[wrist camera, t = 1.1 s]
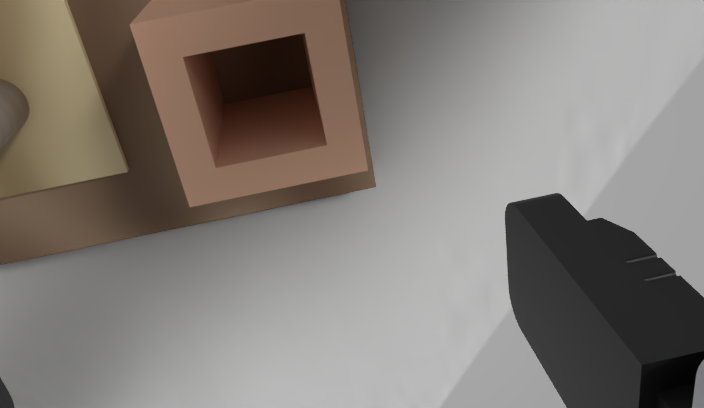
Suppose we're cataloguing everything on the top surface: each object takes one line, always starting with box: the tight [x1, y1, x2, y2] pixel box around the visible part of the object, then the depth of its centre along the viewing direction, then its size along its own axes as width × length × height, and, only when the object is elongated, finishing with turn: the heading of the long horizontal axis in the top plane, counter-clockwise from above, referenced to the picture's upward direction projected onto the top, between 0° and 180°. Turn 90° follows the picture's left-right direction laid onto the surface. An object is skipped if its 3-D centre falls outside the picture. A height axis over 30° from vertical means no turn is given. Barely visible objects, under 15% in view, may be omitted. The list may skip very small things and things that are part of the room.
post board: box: [0, 0, 376, 265], centre depth 21 cm, size 17×13×9 cm
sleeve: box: [130, 0, 368, 207], centre depth 21 cm, size 6×6×6 cm
